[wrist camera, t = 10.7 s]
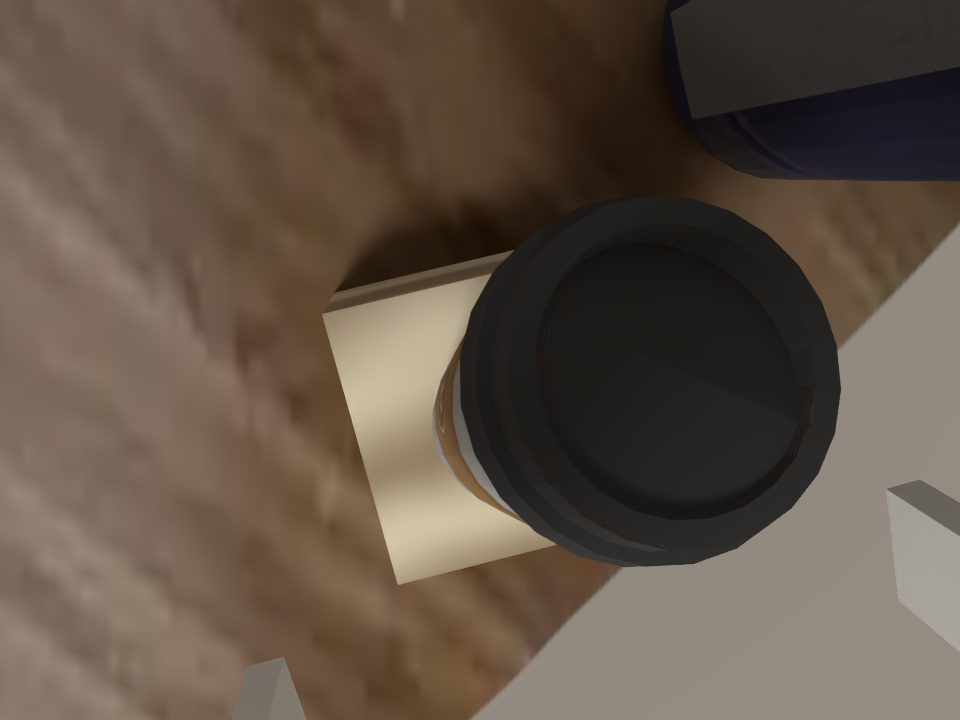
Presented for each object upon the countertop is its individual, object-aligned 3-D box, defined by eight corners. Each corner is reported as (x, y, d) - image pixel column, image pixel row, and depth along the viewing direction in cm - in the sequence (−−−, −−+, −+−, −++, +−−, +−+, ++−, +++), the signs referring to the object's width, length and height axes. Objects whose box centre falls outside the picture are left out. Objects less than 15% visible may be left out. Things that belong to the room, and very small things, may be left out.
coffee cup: (450, 286, 30) (561, 107, 16) (638, 366, 31) (903, 266, 17) (370, 485, 29) (412, 488, 14) (572, 562, 30) (805, 640, 15)
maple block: (335, 291, 35) (322, 313, 30) (586, 232, 36) (621, 243, 30) (398, 522, 38) (397, 584, 33) (629, 465, 39) (669, 515, 33)
